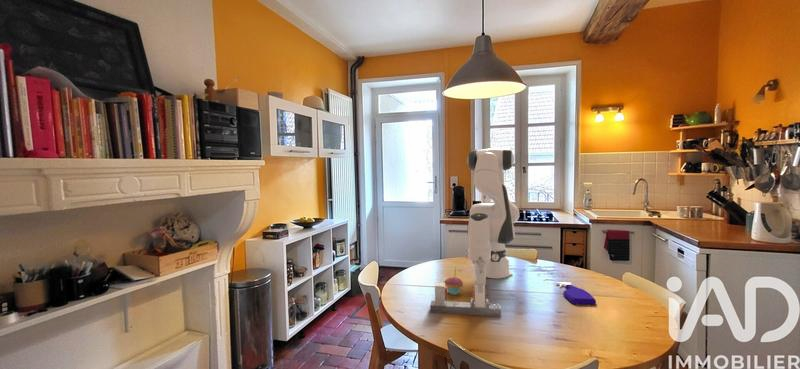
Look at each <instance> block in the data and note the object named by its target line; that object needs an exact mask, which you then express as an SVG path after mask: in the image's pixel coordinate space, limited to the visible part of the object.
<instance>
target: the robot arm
mask: <svg viewBox="0 0 800 369" xmlns="http://www.w3.org/2000/svg"><path fill="white" fill-rule="evenodd" d="M466 161H467V162H466V163H467V165H468V168H469V169H470V170H472V171H474V173H473V174H474V175H473V185H474V187H475V189H476V190H477V191H478V192H479V193H481V194H483V195H484V196H485V197H486V198H488V199H490V200H492V201H493V203H492V202H479V203H475V204H473V205H472V206H471V207H470V209H469V219H468V225H467V229H466V230H467V238H468V246H467V248H468V249H467V250H468V253H467V254H468V260H470V261H471V263H472V264H473V266H474V267H473V268H474V275H475V284H477V285H478V292H479V293H483V285H486V283H487V278H490V279H504V278H505V279H506V278H507V277H510V276H513V272H512V271H510V260H509V259H508V258H507V251H506V250H507V249H506V245H508V244H509V243H511V242H512V241H513V240H514V238H515V236H516V232H515V231H516V230H515V226H514V224H516V223H517V221H518V220H519V218H520V209H519V207H518V206H517V205H515V204H514V203H512V202H511V201H510V199H509V195H508V190H507V187H506V185H505V175H504V172H505V171H508V170H510V169H511V168H512V167H513V165H514V162H515V157H514V153H513V150H511V149H510V148H506V147H505V148H494V147H493V148H492V147H491V148H483V149H474V150H473V149H472V150H471V151H470V152H469V153H468V155H467V159H466Z"/></svg>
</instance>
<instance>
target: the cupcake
mask: <svg viewBox="0 0 800 369" xmlns="http://www.w3.org/2000/svg"><path fill="white" fill-rule="evenodd" d="M456 272H457V268H456V266H455V267H454V271H453V273H454V275H453V277H449V278H447V279H446V280H445V281H444V283H445V286H447V293H448V294H449V293H450V295H452V294H453V296H454V295H455V296H456V295H458V294H460V290H461V288H463V285H464V283H463V281H462V279H460V278H458V277H456V274H457V273H456Z"/></svg>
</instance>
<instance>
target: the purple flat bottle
mask: <svg viewBox="0 0 800 369" xmlns="http://www.w3.org/2000/svg"><path fill="white" fill-rule="evenodd" d="M554 284H555V285H556V286H557V285H558V286H559V287H560V288H561V287H565V290H564V291H563V293H562V294H563V297H564V298H566V300H568V301H569V302H570V303H571V304H573V305H576V304H577V305H578V306H595V305H596V303H597V300H596V298H595V297H594V296H593V295H592V294H591V293H589V292H588V291H587V290H585V289H583V288H579V287H578V286H576V285H573V283H572V282H569V281H568V282H564V281H557V282H556V281H555V282H554ZM577 305H576V306H577Z"/></svg>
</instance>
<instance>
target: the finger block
mask: <svg viewBox="0 0 800 369" xmlns="http://www.w3.org/2000/svg"><path fill="white" fill-rule="evenodd" d="M485 285H486V284H485ZM485 285H483V293H479V292H478V285H477V284H476V283H474V286H472V298H473V302H474V303H475V307H482V308H485V303H486V286H485Z"/></svg>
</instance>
